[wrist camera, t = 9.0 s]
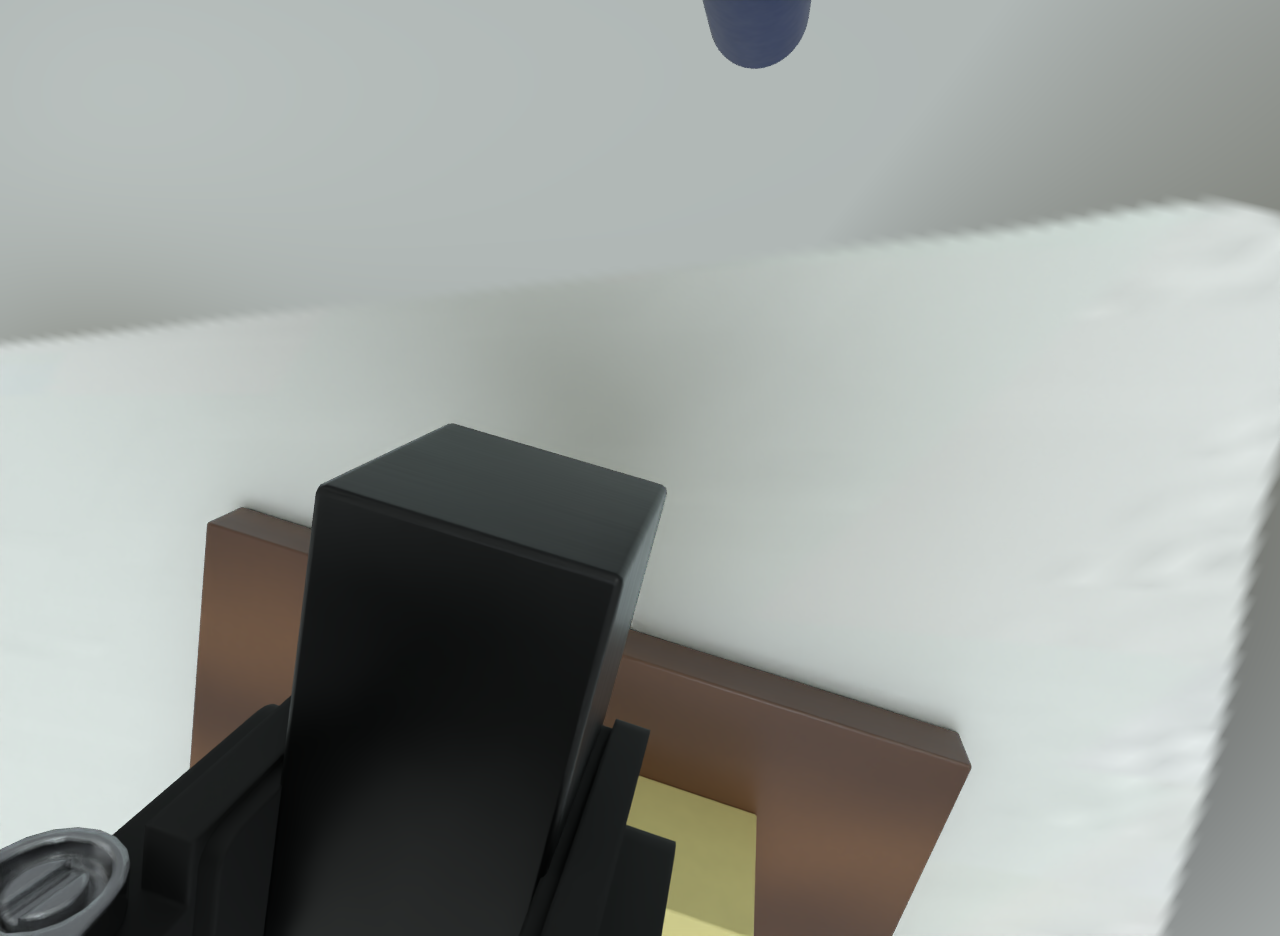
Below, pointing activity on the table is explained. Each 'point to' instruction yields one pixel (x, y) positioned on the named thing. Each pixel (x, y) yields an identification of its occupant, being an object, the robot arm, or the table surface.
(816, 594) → the table surface
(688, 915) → the butter block
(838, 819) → the board
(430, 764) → the knife
